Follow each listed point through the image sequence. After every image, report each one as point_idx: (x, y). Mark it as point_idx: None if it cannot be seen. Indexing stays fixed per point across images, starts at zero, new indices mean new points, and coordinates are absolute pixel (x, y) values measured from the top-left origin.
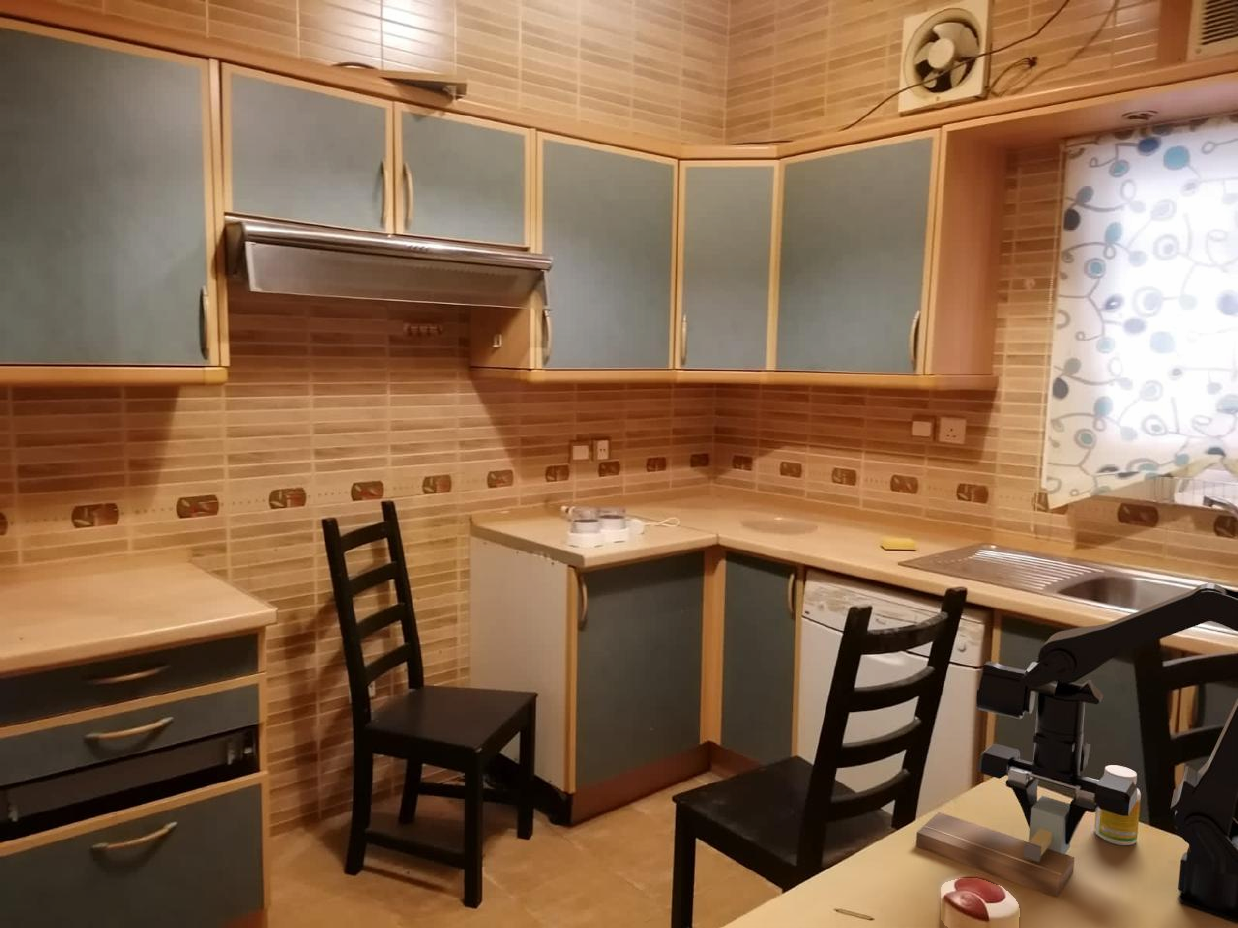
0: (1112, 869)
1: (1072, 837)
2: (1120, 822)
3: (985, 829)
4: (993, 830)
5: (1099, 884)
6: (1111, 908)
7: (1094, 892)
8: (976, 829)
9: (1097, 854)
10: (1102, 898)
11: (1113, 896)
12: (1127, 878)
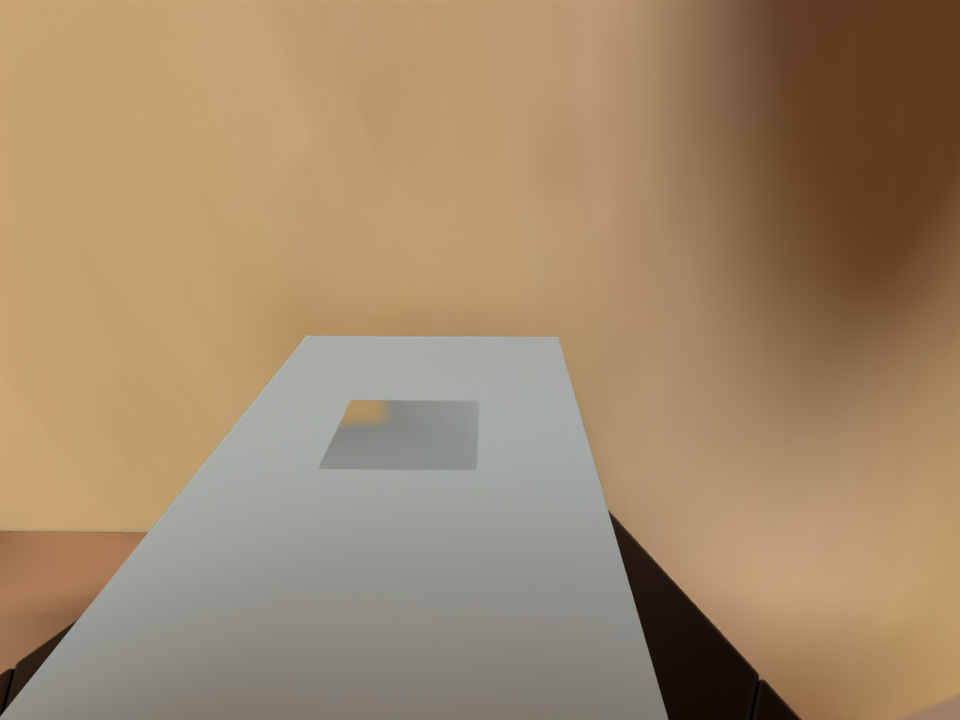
0: (860, 351)
1: (610, 513)
2: None
3: (36, 630)
4: (77, 617)
5: (766, 566)
6: (815, 703)
7: (740, 640)
8: (6, 661)
9: (757, 182)
10: (777, 662)
11: (833, 622)
12: (950, 404)
